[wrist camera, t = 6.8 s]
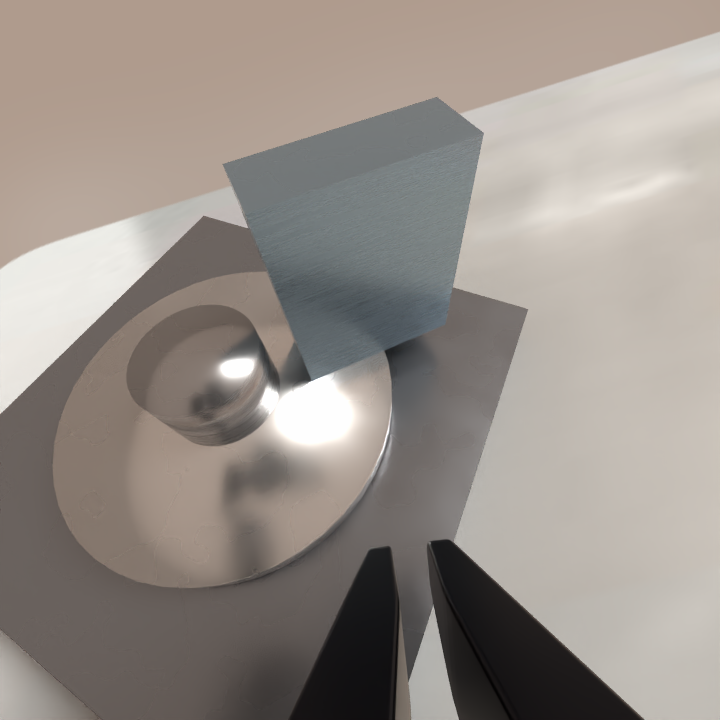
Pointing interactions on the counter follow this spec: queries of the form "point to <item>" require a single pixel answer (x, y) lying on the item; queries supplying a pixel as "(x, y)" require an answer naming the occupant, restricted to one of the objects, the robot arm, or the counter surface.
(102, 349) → the flange
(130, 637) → the locating plate
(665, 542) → the counter surface
